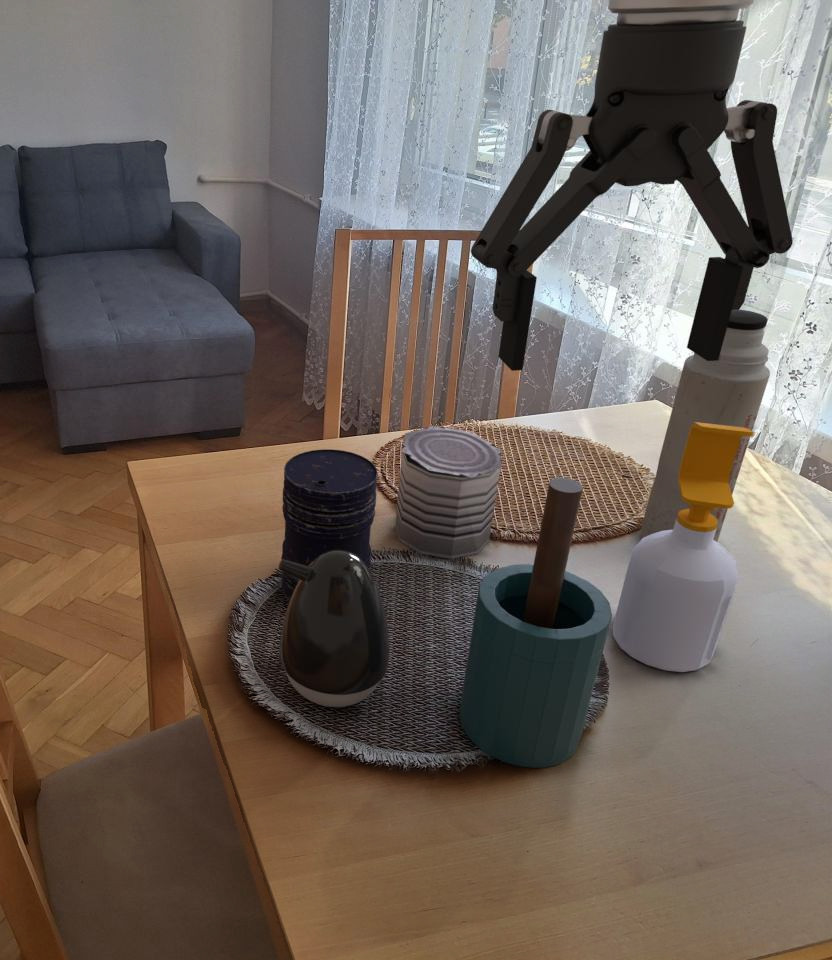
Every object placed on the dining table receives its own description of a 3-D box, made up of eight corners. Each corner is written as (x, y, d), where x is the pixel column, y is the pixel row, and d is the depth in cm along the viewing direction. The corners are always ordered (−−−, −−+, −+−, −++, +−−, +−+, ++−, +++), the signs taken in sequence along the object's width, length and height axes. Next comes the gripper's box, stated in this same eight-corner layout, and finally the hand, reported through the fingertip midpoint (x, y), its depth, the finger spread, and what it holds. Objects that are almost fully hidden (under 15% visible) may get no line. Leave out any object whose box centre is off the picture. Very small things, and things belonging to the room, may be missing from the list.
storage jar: (298, 554, 102) (301, 442, 95) (379, 573, 99) (389, 458, 91) (267, 600, 95) (268, 482, 87) (354, 623, 91) (363, 501, 84)
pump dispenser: (277, 649, 88) (279, 522, 80) (380, 653, 86) (392, 525, 79) (275, 721, 79) (278, 586, 71) (390, 727, 78) (405, 591, 70)
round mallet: (536, 696, 79) (585, 467, 68) (559, 738, 75) (615, 500, 63) (480, 698, 79) (519, 470, 68) (499, 740, 75) (545, 503, 63)
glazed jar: (552, 683, 82) (579, 561, 75) (599, 765, 73) (634, 636, 66) (445, 687, 82) (463, 566, 75) (480, 770, 73) (503, 642, 66)
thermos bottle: (725, 542, 102) (798, 313, 88) (697, 569, 97) (770, 332, 84) (657, 517, 107) (716, 298, 94) (627, 541, 103) (685, 314, 89)
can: (438, 500, 112) (448, 417, 107) (509, 538, 104) (525, 450, 98) (374, 528, 107) (381, 442, 101) (444, 570, 99) (456, 479, 93)
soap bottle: (613, 662, 84) (672, 437, 72) (610, 608, 91) (664, 396, 80) (717, 683, 81) (797, 452, 69) (705, 626, 88) (776, 408, 77)
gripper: (842, 7, 54) (750, 332, 64) (445, 26, 54) (416, 348, 64) (937, 7, 47) (817, 369, 57) (484, 29, 47) (445, 387, 57)
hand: (606, 359), depth 61 cm, fingers open, 13 cm apart
